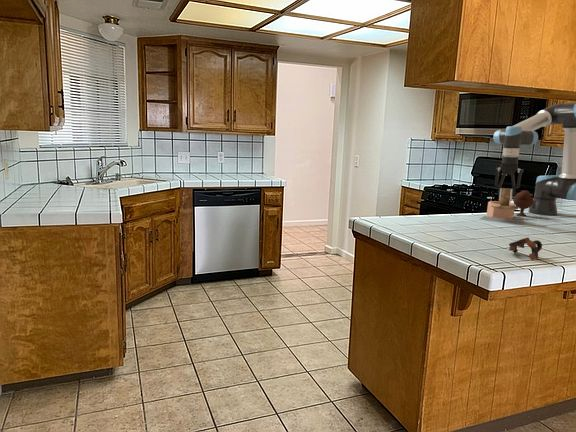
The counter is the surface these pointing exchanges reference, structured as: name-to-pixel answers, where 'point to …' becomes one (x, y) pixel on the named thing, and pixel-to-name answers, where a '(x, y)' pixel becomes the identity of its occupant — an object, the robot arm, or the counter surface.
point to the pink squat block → (499, 211)
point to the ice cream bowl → (523, 201)
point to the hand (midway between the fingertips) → (505, 200)
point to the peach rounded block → (505, 200)
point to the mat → (502, 220)
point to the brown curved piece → (530, 243)
